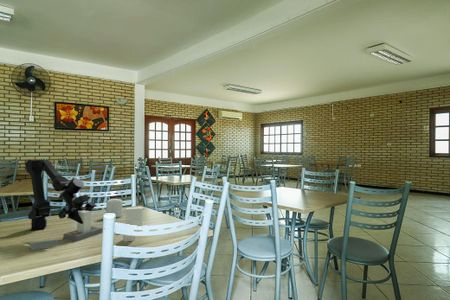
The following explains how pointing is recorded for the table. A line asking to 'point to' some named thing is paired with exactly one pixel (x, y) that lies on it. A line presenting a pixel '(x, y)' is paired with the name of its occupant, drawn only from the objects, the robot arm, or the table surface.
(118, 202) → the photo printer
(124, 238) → the shot glass
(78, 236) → the power strip
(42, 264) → the table surface
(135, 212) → the base with upright slab
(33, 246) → the mat
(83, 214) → the block
